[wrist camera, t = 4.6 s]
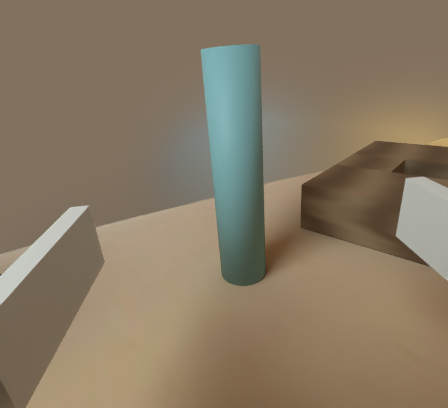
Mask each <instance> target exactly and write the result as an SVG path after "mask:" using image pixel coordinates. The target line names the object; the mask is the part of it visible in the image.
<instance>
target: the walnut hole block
mask: <svg viewBox="0 0 448 408" xmlns="http://www.w3.org/2000/svg"><path fill="white" fill-rule="evenodd" d="M413 177H426V178H428V179H430V180H432V181H434V182H436V183H438V184H440V185H442V186H445V187H447V188H448V147H442V146H430V145H417V144H406V143H394V142H382V141H375V142H373V143H371V144H370V145H368V146H366V147H365V148H363V149H361V150H360V151H358V152H356V153H355V154H353V155H351V156H350V157H348V158H346V159H345V160H343V161H341V162H339V163H338V164H336V165H334V166H333V167H331V168H329V169H328V170H326V171H324V172H323V173H321V174H319V175H318V176H316V177H314V178H313V179H311V180H309V181H307V182H306V183H304V184H302V196H301V228H305V229H308V230H311V231H315V232H318V233H321V234H325V235H328V236H331V237H335V238H338V239H341V240H345V241H348V242H351V243H355V244H358V245H361V246H365V247H368V248H371V249H375V250H378V251H381V252H384V253H388V254H391V255H394V256H398V257H401V258H404V259H408V260H411V261H414V262H418V263H421V264H424V265H428V264H427V263H426V262H425V261H424V260H423V259H422V258H420V257H419V256H418V255H417V254H416V253H415V252H414V251H412V250H411V249H410V248H409V247H408V246H407V245H406V244H404V243H403V242H402V241H401V240H400V239H399V238H397V237H396V231H397V226H398V220H399V214H400V208H401V203H402V197H403V191H404V185H405V180H406V178H413ZM428 266H430V265H428Z"/></svg>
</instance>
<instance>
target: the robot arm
mask: <svg viewBox="0 0 448 408" xmlns="http://www.w3.org/2000/svg"><path fill="white" fill-rule="evenodd" d="M396 237H397V238H399V239H400V240H401V241H402V242H403V243H404V244H406V245H407V246H408V247H409V248H410V249H411V250H412V251H414V252H415V253H416V254H417V255H418V256H419V257H420V258H422V259H423V260H424V261H425V262H426V263H427V264H428V265H430V266H431V267H432V268H433V269H434V270H435V271H436V272H438V273H439V274H440V275H441V276H442V277H443V278H445V279H446V280H447V281H448V188H447V187H445V186H442V185H440V184H438V183H436V182H434V181H432V180H430V179H428V178H426V177H413V178H406V180H405V185H404V191H403V197H402V203H401V208H400V214H399V220H398V226H397V231H396ZM104 262H105V261H104V258H103V254H102V251H101V247H100V243H99V240H98V236H97V232H96V229H95V225H94V222H93V218H92V214H91V211H90V207H89V206H80V207H70V208H69V209H68V210H67V211H66V212H65V213H64V214H63V215H62V216H61V217H60V218H59V219H58V220H57V221H56V222H55V223H54V224H53V225H52V226H51V227H50V228H49V229H48V230H47V231H46V232H45V233H44V234H43V235H42V236H41V237H40V238H39V239H38V240H37V241H36V242H34V244H32V245H31V246H30V247H29V248H28V249H27V250H26V251H25V252H24V253H23V254H22V255H21V256H20V257H19V258H18V259H17V260H16V261H15V262H14V263H13V264H12V265H11V266H10V267H9V268H8V269H7V270H6V271H5V272H4V273H3V274H0V408H26V406H27V404H28V402H29V400H30V398H31V397H32V395H33V393H34V391H35V389H36V387H37V386H38V384H39V382H40V380H41V378H42V376H43V374H44V373H45V371H46V369H47V367H48V365H49V363H50V362H51V360H52V358H53V356H54V354H55V352H56V351H57V349H58V347H59V345H60V343H61V341H62V340H63V338H64V336H65V334H66V332H67V330H68V329H69V327H70V325H71V323H72V321H73V319H74V318H75V316H76V314H77V312H78V310H79V308H80V306H81V305H82V303H83V301H84V299H85V297H86V295H87V294H88V292H89V290H90V288H91V286H92V284H93V283H94V281H95V279H96V277H97V275H98V273H99V272H100V270H101V268H102V266H103V264H104Z"/></svg>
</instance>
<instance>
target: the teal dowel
mask: <svg viewBox="0 0 448 408" xmlns="http://www.w3.org/2000/svg"><path fill="white" fill-rule="evenodd" d="M201 58H202V69H203V80H204V90H205V101H206V111H207V122H208V132H209V143H210V153H211V164H212V175H213V186H214V195H215V207H216V218H217V228H218V239H219V249H220V260H221V271H222V276H223V278H224V279H225V280H226V281H227V282H229V283H231V284H234V285H240V286H245V285H251V284H255V283H257V282H259V281H260V280H262V279H263V277H264V276H265V272H266V269H265V228H264V186H263V145H262V105H261V104H262V103H261V65H260V64H261V62H260V45H255V44H253V45H233V46H222V47H214V48H208V49H202V50H201Z"/></svg>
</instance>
